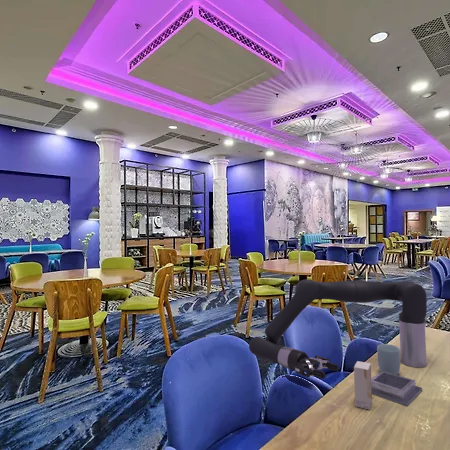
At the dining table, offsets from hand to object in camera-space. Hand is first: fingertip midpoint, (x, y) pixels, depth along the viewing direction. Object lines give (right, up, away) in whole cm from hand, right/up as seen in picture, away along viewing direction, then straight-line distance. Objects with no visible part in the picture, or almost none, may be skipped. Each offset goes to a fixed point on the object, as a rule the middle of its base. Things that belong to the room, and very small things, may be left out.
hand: (331, 371), depth 110 cm
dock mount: (+21, -6, -1) cm, 22 cm away
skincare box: (+8, -6, -8) cm, 13 cm away
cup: (+26, -7, +12) cm, 30 cm away
